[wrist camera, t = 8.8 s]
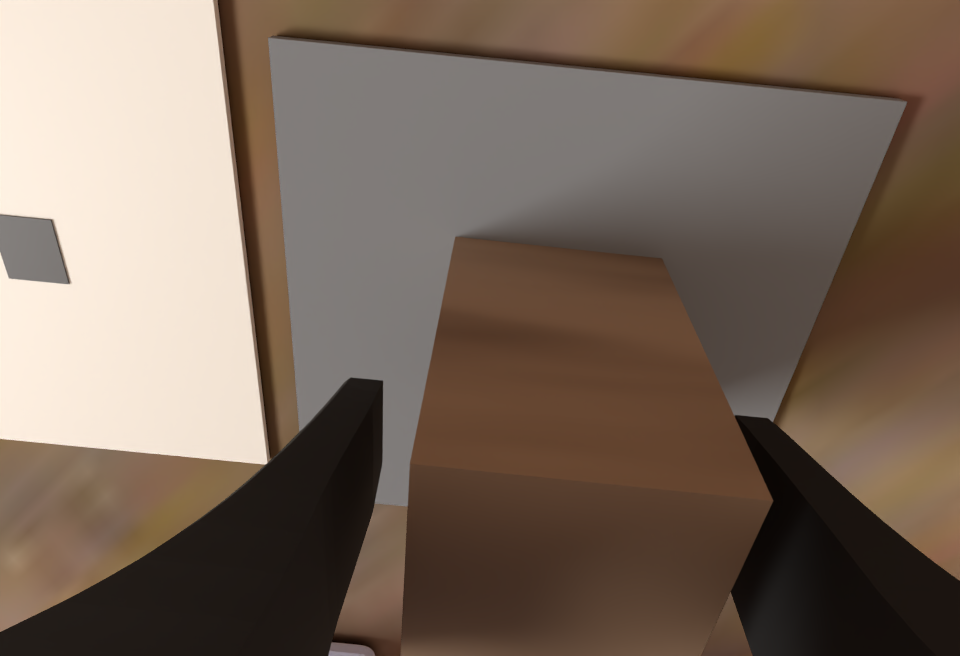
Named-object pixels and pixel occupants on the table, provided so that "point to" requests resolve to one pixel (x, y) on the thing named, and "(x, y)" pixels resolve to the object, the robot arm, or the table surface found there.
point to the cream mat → (123, 233)
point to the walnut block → (571, 464)
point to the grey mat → (553, 204)
